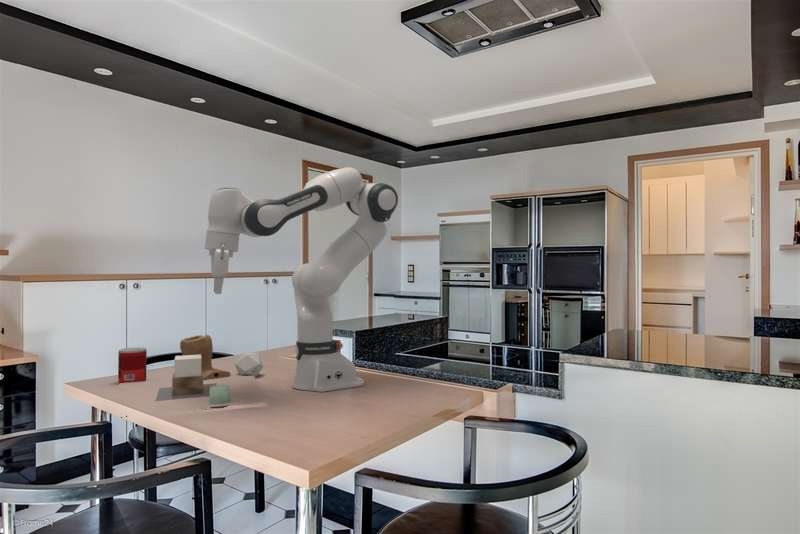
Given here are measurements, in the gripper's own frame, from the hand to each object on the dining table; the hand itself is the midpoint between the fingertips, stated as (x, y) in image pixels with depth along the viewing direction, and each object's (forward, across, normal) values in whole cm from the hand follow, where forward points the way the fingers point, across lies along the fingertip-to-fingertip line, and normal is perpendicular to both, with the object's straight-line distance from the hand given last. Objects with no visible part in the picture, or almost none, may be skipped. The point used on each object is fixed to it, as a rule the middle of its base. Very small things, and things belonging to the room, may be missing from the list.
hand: (217, 293), depth 135 cm
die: (+29, +29, -14) cm, 43 cm away
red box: (+32, +34, +22) cm, 52 cm away
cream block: (+24, +9, +6) cm, 27 cm away
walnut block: (+29, +9, +5) cm, 31 cm away
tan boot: (+30, +30, +1) cm, 43 cm away
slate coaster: (+31, +9, +5) cm, 32 cm away
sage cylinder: (+30, -6, -3) cm, 31 cm away
